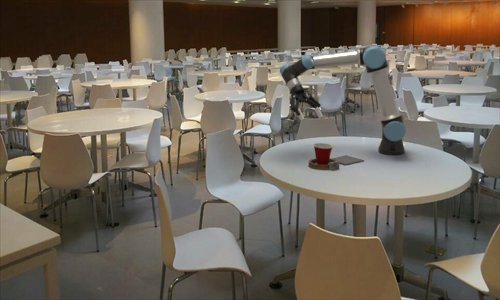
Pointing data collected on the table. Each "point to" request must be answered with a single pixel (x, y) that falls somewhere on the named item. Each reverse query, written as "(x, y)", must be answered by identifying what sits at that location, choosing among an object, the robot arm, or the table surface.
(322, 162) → the plastic cup
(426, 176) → the table surface
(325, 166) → the walnut collar
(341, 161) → the rubber pad
